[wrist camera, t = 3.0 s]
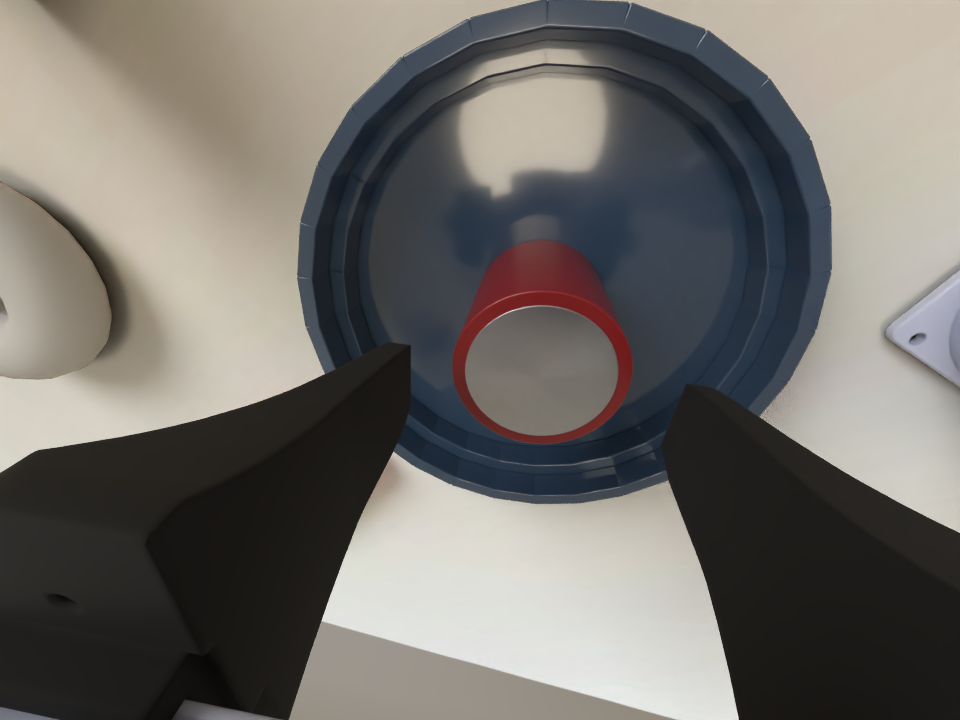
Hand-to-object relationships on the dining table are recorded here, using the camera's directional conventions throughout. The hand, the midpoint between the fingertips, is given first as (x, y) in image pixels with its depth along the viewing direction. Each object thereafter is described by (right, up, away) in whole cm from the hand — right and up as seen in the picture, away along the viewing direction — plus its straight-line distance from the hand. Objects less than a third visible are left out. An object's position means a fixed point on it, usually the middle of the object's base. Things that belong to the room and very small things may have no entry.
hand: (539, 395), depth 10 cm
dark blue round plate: (+1, +4, +6) cm, 7 cm away
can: (+1, +3, +6) cm, 7 cm away
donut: (-24, +5, +9) cm, 26 cm away
